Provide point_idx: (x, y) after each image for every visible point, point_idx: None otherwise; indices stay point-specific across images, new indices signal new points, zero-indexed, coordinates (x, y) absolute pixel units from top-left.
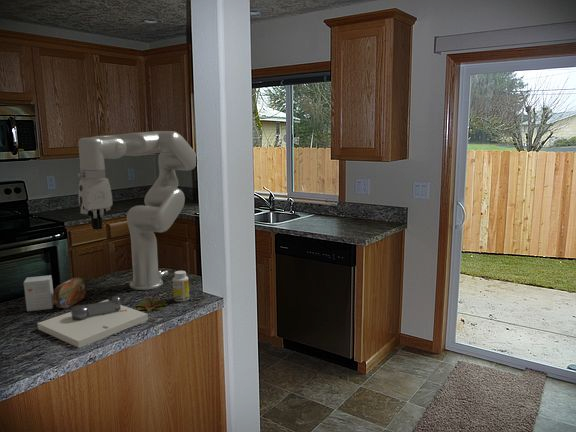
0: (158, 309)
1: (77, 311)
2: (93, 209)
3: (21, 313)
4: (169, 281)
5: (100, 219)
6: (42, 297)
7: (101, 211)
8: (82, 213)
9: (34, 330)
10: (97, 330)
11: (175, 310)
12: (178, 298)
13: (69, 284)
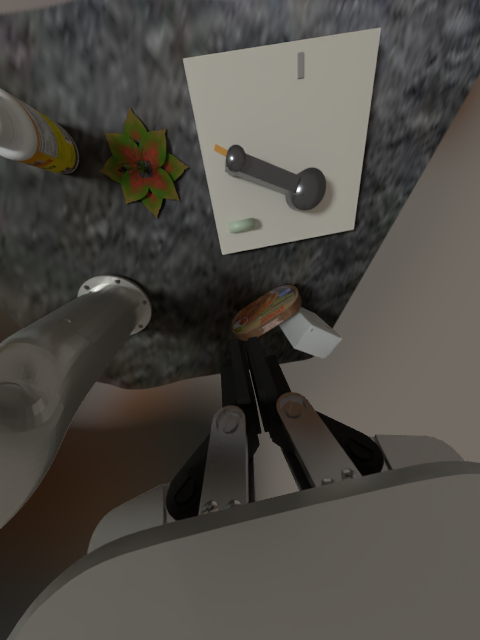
0: (138, 120)
1: (321, 172)
2: (419, 474)
3: (322, 311)
4: (63, 295)
5: (244, 384)
6: (307, 314)
7: (233, 467)
8: (433, 442)
9: None
10: (321, 63)
11: (95, 69)
12: (63, 130)
13: (271, 316)
